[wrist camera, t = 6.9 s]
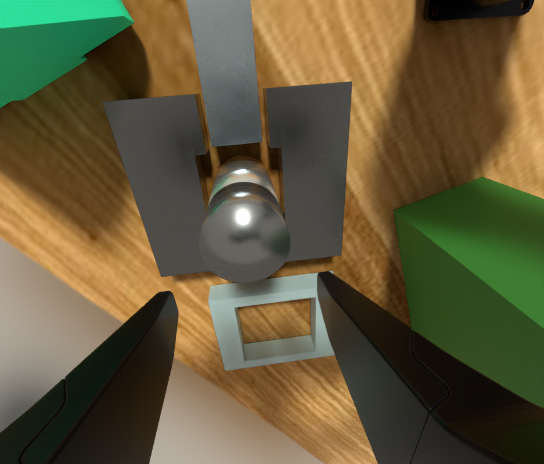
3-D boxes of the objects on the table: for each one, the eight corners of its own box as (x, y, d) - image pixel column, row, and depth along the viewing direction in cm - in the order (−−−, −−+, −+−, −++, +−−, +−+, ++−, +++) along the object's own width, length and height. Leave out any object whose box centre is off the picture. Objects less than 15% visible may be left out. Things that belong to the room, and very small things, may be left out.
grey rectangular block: (245, -21, 14) (246, -40, 12) (259, 135, 18) (262, 142, 16) (189, -18, 14) (179, -37, 12) (215, 139, 18) (211, 146, 16)
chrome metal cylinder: (268, 153, 19) (288, 199, 11) (272, 205, 21) (292, 277, 13) (211, 158, 19) (189, 209, 11) (220, 211, 20) (208, 287, 13)
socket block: (340, 82, 17) (352, 81, 15) (333, 242, 23) (341, 255, 21) (117, 100, 16) (102, 101, 15) (167, 262, 22) (161, 276, 20)
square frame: (332, 270, 24) (339, 285, 23) (329, 338, 29) (334, 355, 27) (210, 285, 24) (208, 301, 22) (226, 353, 28) (225, 370, 26)
